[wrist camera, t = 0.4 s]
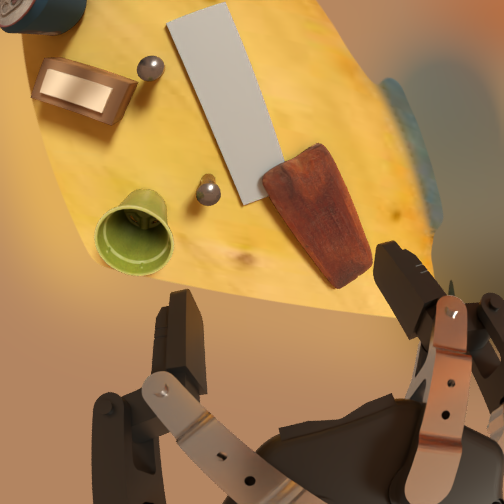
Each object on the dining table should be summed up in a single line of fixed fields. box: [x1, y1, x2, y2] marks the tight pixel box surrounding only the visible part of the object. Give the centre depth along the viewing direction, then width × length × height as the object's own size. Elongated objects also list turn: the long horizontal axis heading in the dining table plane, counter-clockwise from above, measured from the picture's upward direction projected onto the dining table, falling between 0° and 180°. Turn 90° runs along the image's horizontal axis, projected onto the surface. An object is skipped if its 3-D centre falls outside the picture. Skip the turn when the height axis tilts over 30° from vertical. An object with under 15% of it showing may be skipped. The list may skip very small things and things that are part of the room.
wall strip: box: [166, 2, 285, 205], centre depth 30 cm, size 26×7×1 cm, turn 19°
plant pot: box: [94, 189, 174, 276], centre depth 33 cm, size 9×9×9 cm
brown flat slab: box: [262, 143, 373, 289], centre depth 42 cm, size 27×10×2 cm, turn 32°
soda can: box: [0, 0, 87, 36], centre depth 14 cm, size 7×7×12 cm
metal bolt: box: [196, 174, 221, 206], centre depth 34 cm, size 3×3×5 cm
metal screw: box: [137, 56, 165, 81], centre depth 25 cm, size 3×3×5 cm
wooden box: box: [31, 57, 138, 125], centre depth 24 cm, size 12×5×5 cm, turn 60°
